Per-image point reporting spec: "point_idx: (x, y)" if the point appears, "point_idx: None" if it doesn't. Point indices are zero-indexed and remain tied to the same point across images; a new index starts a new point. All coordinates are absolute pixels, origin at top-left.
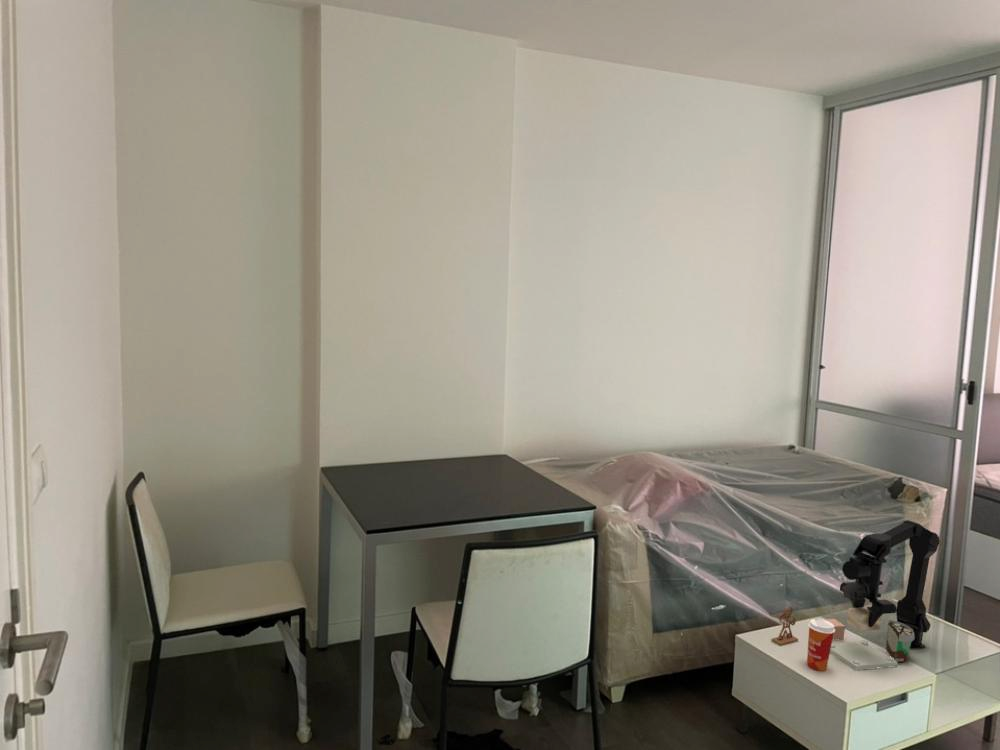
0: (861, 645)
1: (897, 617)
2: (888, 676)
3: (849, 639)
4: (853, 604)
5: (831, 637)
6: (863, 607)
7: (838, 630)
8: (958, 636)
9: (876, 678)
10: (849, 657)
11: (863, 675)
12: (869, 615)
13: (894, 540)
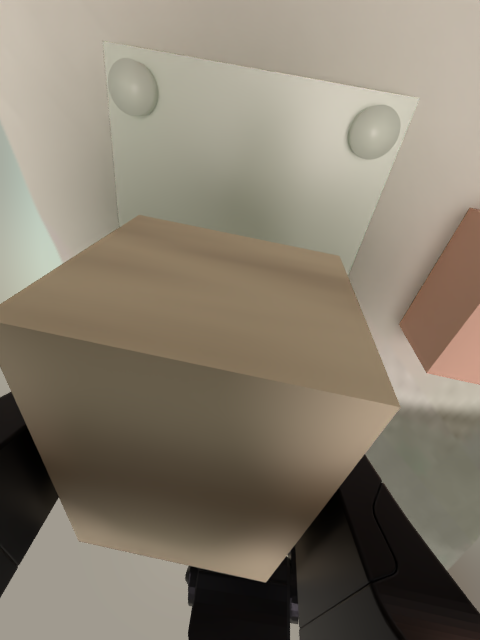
0: None
1: (293, 549)
2: (58, 204)
3: (382, 349)
4: (400, 554)
5: None
6: (281, 554)
7: (439, 323)
8: None
9: (31, 110)
10: (212, 118)
11: (60, 48)
12: (3, 435)
13: None
